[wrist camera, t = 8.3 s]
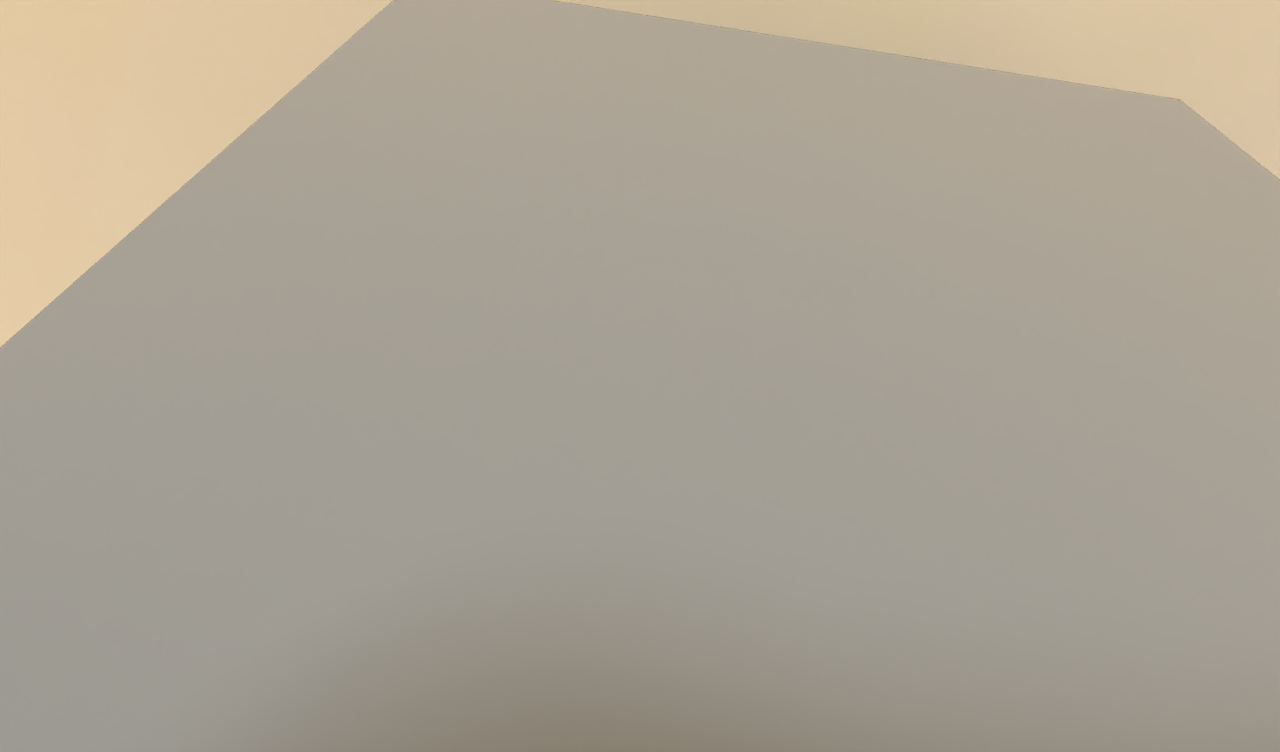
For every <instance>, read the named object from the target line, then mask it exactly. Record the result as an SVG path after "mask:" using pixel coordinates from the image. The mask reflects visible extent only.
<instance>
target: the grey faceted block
mask: <svg viewBox="0 0 1280 752" xmlns="http://www.w3.org/2000/svg"><path fill="white" fill-rule="evenodd" d="M0 752H1280V179H1278V178H1277V177H1276V176H1275V175H1273V174H1272V173H1271V172H1270V171H1268V170H1267V169H1266V168H1265V167H1263V166H1262V165H1261V164H1260V163H1258V162H1257V161H1256V160H1255V159H1253V158H1252V157H1251V156H1250V155H1248V154H1247V153H1246V152H1245V151H1243V150H1242V149H1241V148H1240V147H1239V146H1237V145H1236V144H1235V143H1234V142H1232V141H1231V140H1230V139H1229V138H1227V137H1226V136H1225V135H1224V134H1222V133H1221V132H1220V131H1219V130H1217V129H1216V128H1215V127H1214V126H1212V125H1211V124H1210V123H1209V122H1207V121H1206V120H1205V119H1204V118H1202V117H1201V116H1200V115H1199V114H1197V113H1196V112H1195V111H1194V110H1192V109H1191V108H1190V107H1189V106H1187V105H1186V104H1185V103H1184V102H1182V101H1181V100H1180V99H1174V98H1167V97H1161V96H1155V95H1148V94H1142V93H1136V92H1129V91H1123V90H1117V89H1110V88H1104V87H1098V86H1091V85H1085V84H1079V83H1072V82H1066V81H1060V80H1053V79H1047V78H1041V77H1034V76H1028V75H1022V74H1015V73H1009V72H1003V71H996V70H990V69H984V68H977V67H971V66H965V65H958V64H952V63H946V62H939V61H933V60H927V59H921V58H914V57H908V56H902V55H895V54H889V53H883V52H876V51H870V50H864V49H857V48H851V47H845V46H838V45H832V44H826V43H819V42H813V41H807V40H800V39H794V38H788V37H781V36H775V35H769V34H762V33H756V32H750V31H743V30H737V29H731V28H724V27H718V26H712V25H705V24H699V23H693V22H686V21H680V20H674V19H667V18H661V17H655V16H648V15H642V14H636V13H629V12H623V11H617V10H610V9H604V8H598V7H591V6H585V5H579V4H572V3H566V2H560V1H553V0H393V1H392V2H391V3H390V4H388V5H387V6H386V7H385V8H384V9H383V10H382V11H381V12H379V13H378V14H377V15H376V16H375V17H374V18H373V19H371V20H370V21H369V22H368V23H367V24H366V25H365V26H364V27H362V28H361V29H360V30H359V31H358V32H357V33H356V34H355V35H353V36H352V37H351V38H350V39H349V40H348V41H347V42H345V43H344V44H343V45H342V46H341V47H340V48H339V49H338V50H336V51H335V52H334V53H333V54H332V55H331V56H330V57H328V58H327V59H326V60H325V61H324V62H323V63H322V64H321V65H319V66H318V67H317V68H316V69H315V70H314V71H313V72H312V73H310V74H309V75H308V76H307V77H306V78H305V79H304V80H302V81H301V82H300V83H299V84H298V85H297V86H296V87H295V88H293V89H292V90H291V91H290V92H289V93H288V94H287V95H285V96H284V97H283V98H282V99H281V100H280V101H279V102H278V103H276V104H275V105H274V106H273V107H272V108H271V109H270V110H269V111H267V112H266V113H265V114H264V115H263V116H262V117H261V118H259V119H258V120H257V121H256V122H255V123H254V124H253V125H252V126H250V127H249V128H248V129H247V130H246V131H245V132H244V133H242V134H241V135H240V136H239V137H238V138H237V139H236V140H235V141H233V142H232V143H231V144H230V145H229V146H228V147H227V148H226V149H224V150H223V151H222V152H221V153H220V154H219V155H218V156H216V157H215V158H214V159H213V160H212V161H211V162H210V163H209V164H207V165H206V166H205V167H204V168H203V169H202V170H201V171H200V172H198V173H197V174H196V175H195V176H194V177H193V178H192V179H190V180H189V181H188V182H187V183H186V184H185V185H184V186H183V187H181V188H180V189H179V190H178V191H177V192H176V193H175V194H173V195H172V196H171V197H170V198H169V199H168V200H167V201H166V202H164V203H163V204H162V205H161V206H160V207H159V208H158V209H157V210H155V211H154V212H153V213H152V214H151V215H150V216H149V217H147V218H146V219H145V220H144V221H143V222H142V223H141V224H140V225H138V226H137V227H136V228H135V229H134V230H133V231H132V232H130V233H129V234H128V235H127V236H126V237H125V238H124V239H123V240H121V241H120V242H119V243H118V244H117V245H116V246H115V247H114V248H112V249H111V250H110V251H109V252H108V253H107V254H106V255H104V256H103V257H102V258H101V259H100V260H99V261H98V262H97V263H95V264H94V265H93V266H92V267H91V268H90V269H89V270H87V271H86V272H85V273H84V274H83V275H82V276H81V277H80V278H78V279H77V280H76V281H75V282H74V283H73V284H72V285H71V286H69V287H68V288H67V289H66V290H65V291H64V292H63V293H61V294H60V295H59V296H58V297H57V298H56V299H55V300H54V301H52V302H51V303H50V304H49V305H48V306H47V307H46V308H44V309H43V310H42V311H41V312H40V313H39V314H38V315H37V316H35V317H34V318H33V319H32V320H31V321H30V322H29V323H28V324H26V325H25V326H24V327H23V328H22V329H21V330H20V331H18V332H17V333H16V334H15V335H14V336H13V337H12V338H11V339H9V340H8V341H7V342H6V343H5V344H4V345H3V346H2V347H0Z"/></svg>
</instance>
